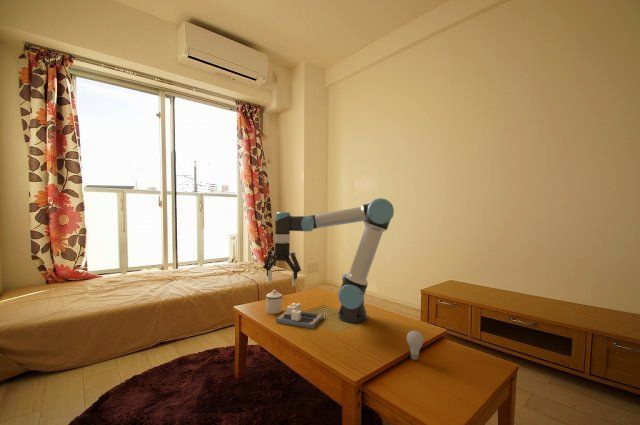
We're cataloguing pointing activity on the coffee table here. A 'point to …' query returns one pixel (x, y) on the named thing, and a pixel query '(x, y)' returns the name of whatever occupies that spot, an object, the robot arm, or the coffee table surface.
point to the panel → (306, 319)
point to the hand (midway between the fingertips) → (281, 284)
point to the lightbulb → (414, 343)
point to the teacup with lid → (273, 302)
